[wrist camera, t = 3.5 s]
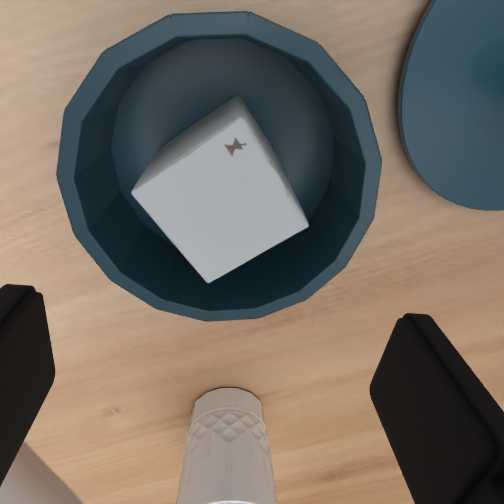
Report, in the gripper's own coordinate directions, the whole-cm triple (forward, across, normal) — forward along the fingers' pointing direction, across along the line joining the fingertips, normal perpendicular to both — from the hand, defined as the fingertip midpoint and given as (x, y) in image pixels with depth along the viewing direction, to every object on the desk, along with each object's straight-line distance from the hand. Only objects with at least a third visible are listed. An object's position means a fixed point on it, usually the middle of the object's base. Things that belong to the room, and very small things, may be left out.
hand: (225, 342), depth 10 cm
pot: (+16, 0, 0) cm, 16 cm away
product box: (+16, 0, 0) cm, 16 cm away
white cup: (+16, -3, +23) cm, 28 cm away
